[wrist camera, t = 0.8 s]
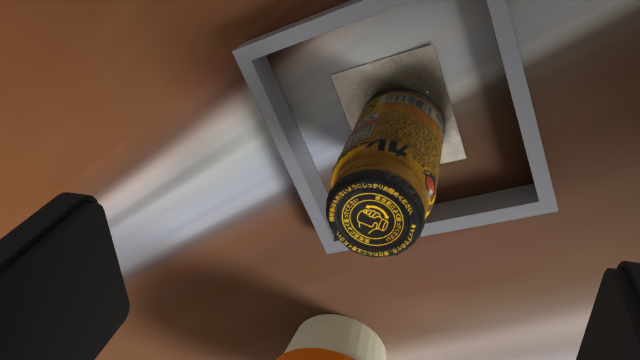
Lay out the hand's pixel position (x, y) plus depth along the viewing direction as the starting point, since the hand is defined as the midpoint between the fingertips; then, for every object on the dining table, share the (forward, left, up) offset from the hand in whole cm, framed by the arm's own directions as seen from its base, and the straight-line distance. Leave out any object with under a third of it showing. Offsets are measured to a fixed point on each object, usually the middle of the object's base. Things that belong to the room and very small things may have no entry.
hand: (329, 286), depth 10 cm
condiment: (-7, +4, -27) cm, 28 cm away
